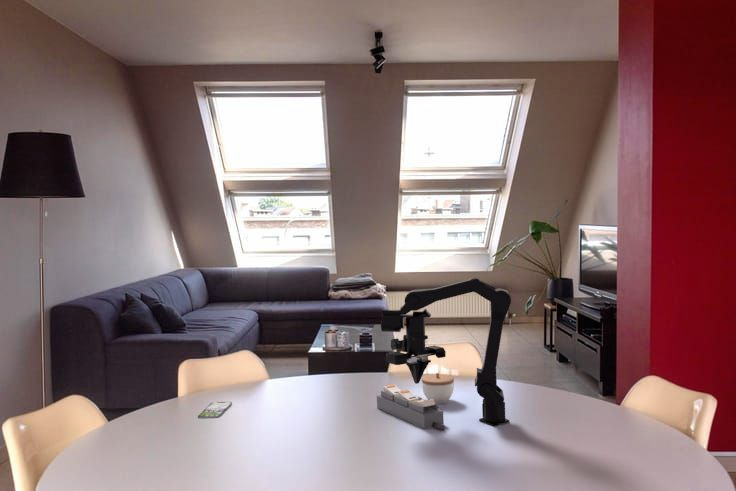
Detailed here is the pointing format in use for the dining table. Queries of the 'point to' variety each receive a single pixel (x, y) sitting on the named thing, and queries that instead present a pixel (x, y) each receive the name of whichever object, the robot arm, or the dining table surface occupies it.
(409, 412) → the rocker switch panel
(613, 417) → the dining table surface
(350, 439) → the dining table surface
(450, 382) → the lidded jar
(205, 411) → the smartphone
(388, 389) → the block
